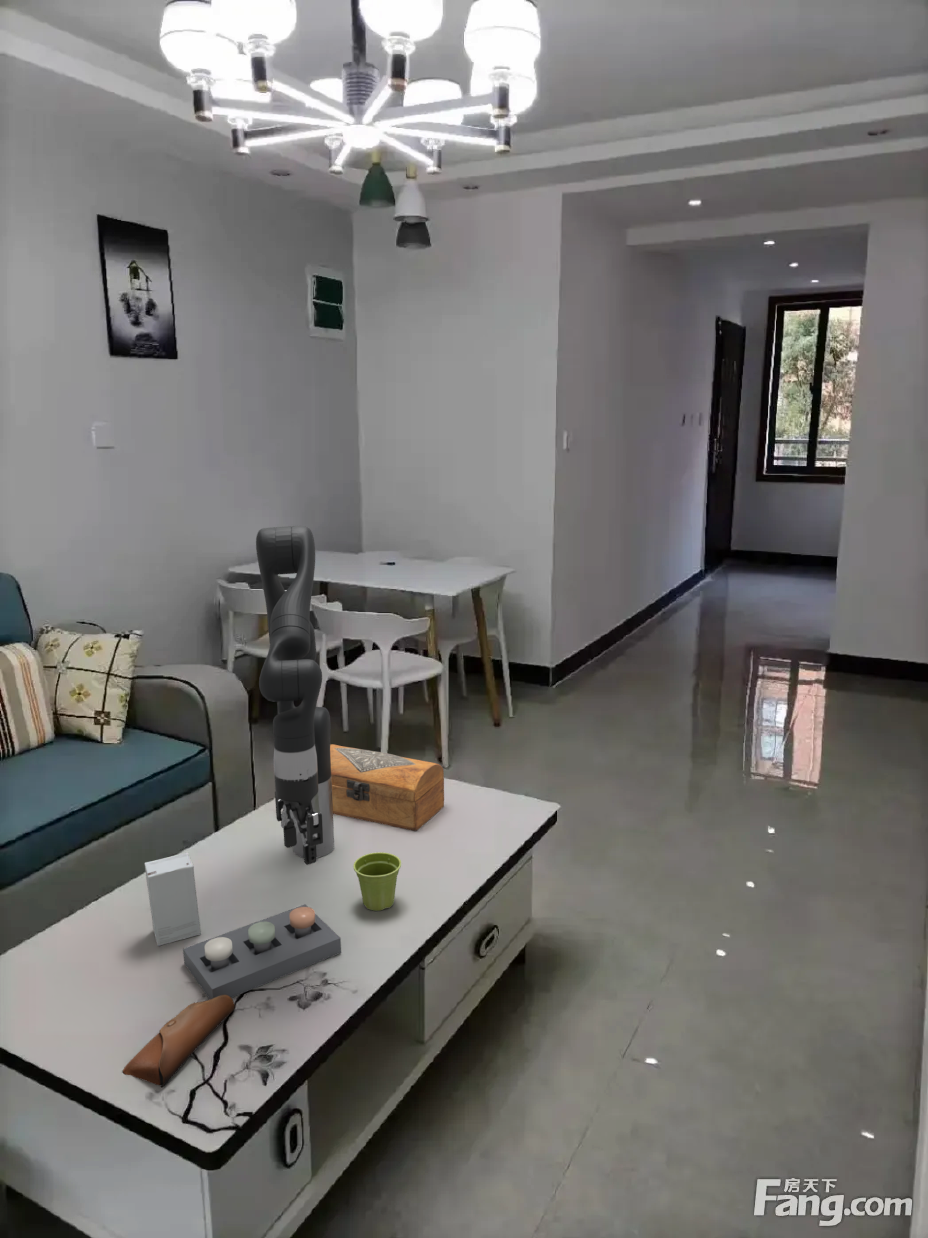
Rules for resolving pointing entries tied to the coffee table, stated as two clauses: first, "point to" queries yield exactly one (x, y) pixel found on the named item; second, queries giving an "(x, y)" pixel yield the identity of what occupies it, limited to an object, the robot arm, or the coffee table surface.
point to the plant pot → (377, 879)
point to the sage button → (261, 936)
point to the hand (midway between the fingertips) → (300, 854)
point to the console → (261, 956)
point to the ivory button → (218, 952)
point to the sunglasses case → (178, 1040)
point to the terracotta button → (302, 921)
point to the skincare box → (173, 898)
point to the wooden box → (385, 787)
